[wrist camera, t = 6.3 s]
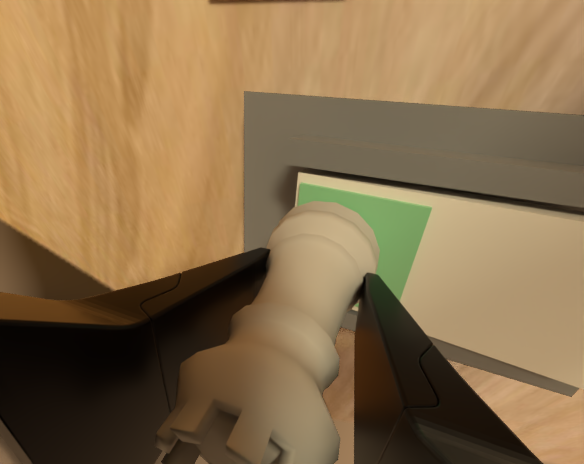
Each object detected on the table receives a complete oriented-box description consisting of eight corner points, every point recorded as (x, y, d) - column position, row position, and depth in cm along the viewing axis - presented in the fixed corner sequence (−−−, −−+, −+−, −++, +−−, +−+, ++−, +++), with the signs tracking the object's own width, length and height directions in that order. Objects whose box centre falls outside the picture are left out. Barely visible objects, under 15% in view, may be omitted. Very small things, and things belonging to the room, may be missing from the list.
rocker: (673, 226, 8) (734, 250, 6) (564, 357, 10) (590, 395, 9) (310, 166, 12) (296, 172, 10) (298, 272, 14) (286, 289, 13)
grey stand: (774, 131, 9) (1097, 139, 5) (576, 360, 14) (653, 454, 10) (257, 94, 14) (207, 82, 10) (253, 273, 19) (220, 312, 15)
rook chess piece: (384, 291, 11) (391, 615, 4) (288, 289, 12) (168, 511, 5) (375, 190, 9) (357, 418, 2) (266, 203, 11) (58, 357, 4)
